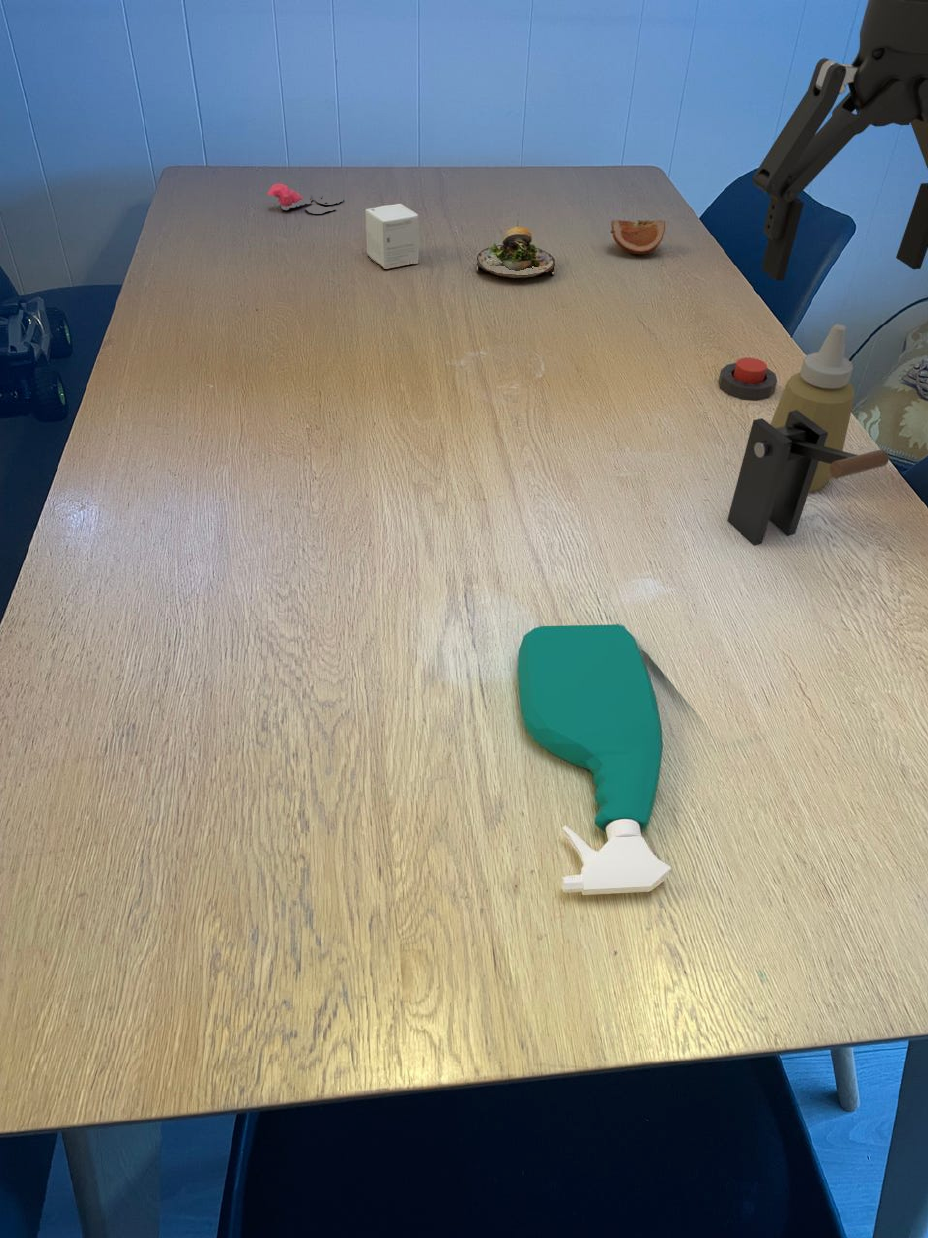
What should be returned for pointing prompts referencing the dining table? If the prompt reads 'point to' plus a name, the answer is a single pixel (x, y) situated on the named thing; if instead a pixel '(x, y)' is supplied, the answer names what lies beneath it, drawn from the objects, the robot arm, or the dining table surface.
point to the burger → (516, 254)
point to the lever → (832, 455)
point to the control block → (746, 385)
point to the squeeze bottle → (822, 396)
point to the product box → (392, 234)
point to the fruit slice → (638, 235)
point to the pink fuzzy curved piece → (284, 194)
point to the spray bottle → (599, 742)
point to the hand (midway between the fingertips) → (841, 269)
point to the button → (750, 370)
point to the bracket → (773, 479)
